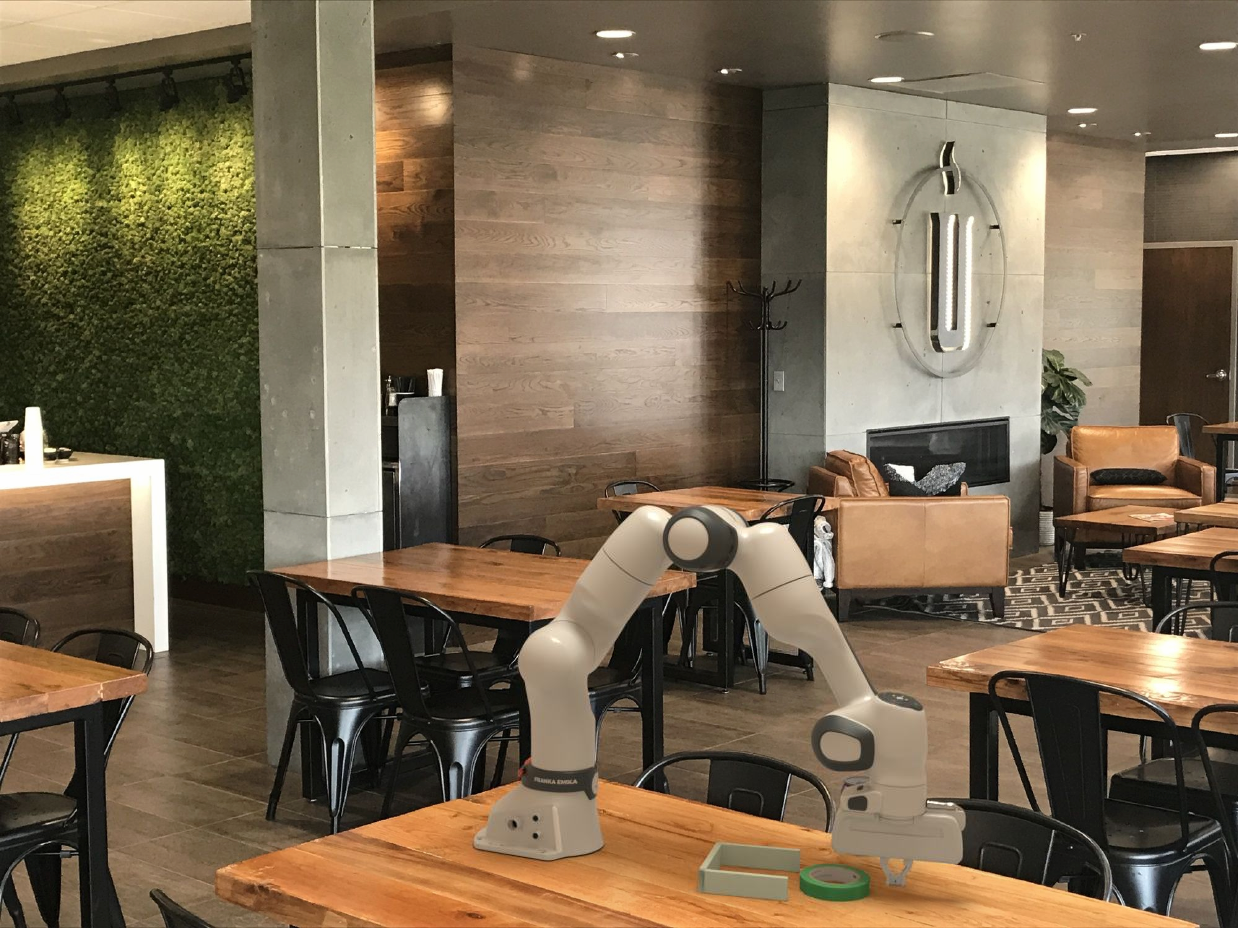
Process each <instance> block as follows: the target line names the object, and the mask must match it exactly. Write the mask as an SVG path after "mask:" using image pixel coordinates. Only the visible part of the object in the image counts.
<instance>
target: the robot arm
mask: <svg viewBox="0 0 1238 928" xmlns="http://www.w3.org/2000/svg"><path fill="white" fill-rule="evenodd" d="M673 564H674V565H676V566H677V567H679V568H681V569H683V570H685V571H688V572H694V573H697V572H698V573H699V572H700V573H701V572H702V573H711V572H712V573H713V572H716V571H720V570H725V569H728V570H730V571H733V573H735V574H736V575H737V577H738V578H739V579H740V581H741V583H742V584H743V587H744V590H745V591H746V593H747V597H748V598H749V601H750V604H751V606H752V610H753V611H754V613H755V616H756V617H757V620H758V622H759V623H760V624H761V626H762V628H763V629H764V630H765V632H766V633H767V635H768V636H770V637H771V638H773V639H774V640H776V641H777V642H780V643H783V644H786V645H791V646H793V647H796V648H798V649H800V650H802V651H804V652H805V653H806V654H808V655H809V656H810V657H811V658H813V660H814V661H815V662H816V663H817V665H818V666H819V668H820V670H821V672H822V674H823V676H824V678H825V680H826V682H827V683H828V686H829V688H830V690H831V691H832V694H833V695H834V698H835V699H836V701H837V704H838V708H837V709H835V710H833V711H831V712H829V713H827V714H825V715H824V716H822V717H821V718H820V719H818V720H817V721H816V723H815V724H814V726H813V727H812V730H811V735H810V740H811V741H810V743H811V748H812V751H813V754H814V756H815V758H816V759H817V761H818V762H820V764H821V765H822V766H823V767H825V768H826V769H828V770H830V771H833V772H841V773H843V772H844V773H845V772H847V773H849V772H851V773H852V772H862V771H865V772H867V773H868V775H869V776H868V777H869V782H867V783H863V784H858V785H854V786H850V787H847V788H846V789H845V790H844V791H843V792H842V794H841V793H840V799H839V802H840V804H839V805H840V807H838V810H837V812H836V815H835V818H834V822H833V825H832V831H831V839H830V841H831V842H830V843H831V844H830V847H831V850H833V851H834V853H836V854H840V855H851V856H862V857H874V858H879V862H878V863H879V866H880V868H881V869H882V871H883V873H884V874H885V885H886V886H888V887H890V886H891V887H900V888H906V878H907V876H908V874H909V872H910V871H911V869H913V865H914V861H917V862H927V863H938V864H948V865H957V864H959V863H961V861H962V860H963V856H964V855H963V852H964V848H963V847H964V846H963V836H962V835H963V833H962V832H963V831H964V829H965V827H966V819H967V817H966V812H965V810H964V808H962V807H961V806H959V805H957V803H955V802H949V801H948V802H942V801H937V800H927V789H928V788H927V787H928V786H927V783H928V779H927V778H928V777H927V774H926V768H925V765H926V759H927V756H928V751H929V749H928V742H929V741H928V740H929V739H928V722H927V717H926V716H927V715H926V712H925V708H924V707H923V705H922V703H921V702H920V701H918V699H916V698H915V697H912V696H910V695H907V694H905V693H900V692H891V691H883V692H879V693H878V691H877V690H876V689H875V687H874V686H873V684H872V682H871V681H870V678H869V676H868V675H867V672H866V671H865V670H864V669H865V668H864V667H863V665H862V664H861V661H860V660H859V658H858V656H857V654H856V653H855V650H854V648H853V646H852V645H851V643H850V641H849V639H848V638H847V636H846V633H845V632H844V631H843V628H842V627H841V625H840V624H839V623H838V620H837V619H836V618H835V616H834V614H833V613H832V612H831V610H830V608H829V605H828V604H827V602H826V600H825V598H824V595H823V594H822V592H821V590H820V588H819V585H818V584H817V581H816V579H815V576H814V574H813V573H812V570H811V568H810V566H809V563H808V561H807V559H806V557H805V555H804V554H803V552H802V551H801V549H800V547H799V546H798V544H797V543H796V540H795V539H794V538H793V536H792V535H791V533H790V532H789V530H788V529H787V528H786V527H784V525H782V524H781V523H780V524H779V523H778V522H760V523H756V524H754V525H752V526H750V524H749V523H748V521H747V520H746V518H745V517H744V515H742V514H741V513H740V512H738V511H737V510H735V509H733V508H732V507H728V506H720V505H717V504H702V505H692V506H687V507H684V508H682V509H680V510H678V511H677V512H675V513H674V514H673V515H672V514H671V513H669V512H668V511H667V510H665V509H664V508H661V507H659V506H654V505H642V506H640V507H638V508H637V509H635V510H634V511H633V512H632V513H631V514H629V515H628V517H626V518H625V520H624V521H622V522H621V523H620V524H619V526H618V527H617V528H616V529H615V530H614V531H613V532H612V533H611V534H610V535H609V537H608V538H607V539H606V541H605V542H604V544H603V545H602V546H601V548H600V549H599V550H598V552H597V553H596V554H595V556H594V557H593V559H592V560H591V561H590V563H589V564H588V565H587V566H586V568H585V569H584V571H583V572H582V573H581V575H580V576H579V577H578V579H577V580H576V582H575V585H574V587H573V589H572V591H571V593H570V594H569V595H568V597H567V600H566V601H565V603H564V604H563V606H562V608H561V609H560V611H559V613H558V614H557V615H556V617H554V618H553V620H551V621H550V622H549V623H548V624H547V625H545V626H543V627H540V628H539V629H537V630H535V631H534V632H532V633H531V634H530V635H529V636H528V638H527V639H526V640H525V642H524V644H523V645H522V647H521V649H520V651H519V653H518V659H517V666H518V671H519V674H520V676H521V678H522V679H523V681H524V684H525V691H526V696H527V701H528V706H529V707H528V708H529V713H530V727H531V728H530V729H531V730H530V731H531V735H530V738H531V743H530V744H531V745H530V746H531V748H530V750H531V753H530V757H529V758H528V759H526V760H525V761H524V764H523V765H522V766H521V767H520V769H519V770H518V771H517V772H518V774H517V775H518V776H517V777H518V778H520V781H521V782H520V783H519V784H518V785H516V786H515V787H514V788H512V789H511V790H509V791H508V792H507V793H506V794H504V795H503V796H502V797H501V798H500V799H498V800H497V801H496V802H494V803H493V805H492V807H491V809H490V811H489V814H488V818H487V823H486V826H485V827H483V828H481V829H480V830H479V831H478V832H477V833H476V834H475V835H474V837H473V847H474V848H475V849H478V850H483V851H489V852H495V853H500V854H506V855H514V856H518V857H519V856H520V857H526V858H531V859H535V860H543V861H553V860H557V859H558V860H559V859H562V858H565V857H567V858H568V857H574V856H575V857H576V856H580V855H581V856H582V855H586V854H590V853H594V852H596V851H598V850H599V849H601V848H602V847H603V846H604V845H605V840H604V837H603V835H602V834H603V833H602V830H601V826H600V819H599V813H598V803H597V796H598V792H599V772H598V771H599V769H598V762H596V717H595V713H593V710H592V707H591V702H590V701H591V700H590V697H589V689H588V688H589V687H588V677H589V675H590V674H591V673H592V672H594V671H595V670H596V669H597V668H598V667H599V666H600V664H601V662H602V661H604V659H605V657H606V656H607V654H608V653H609V651H610V650H611V648H612V647H613V645H614V644H615V642H616V641H617V639H618V638H619V636H620V634H621V632H622V631H623V629H624V628H625V626H626V624H627V623H628V621H629V620H630V619H631V617H632V616H633V614H634V613H635V612H636V610H637V609H638V608H639V606H641V604H642V603H643V601H644V600H645V599H646V598H647V596H648V594H649V593H650V592H651V590H652V589H653V588H654V587H655V585H656V584H657V582H658V581H659V580H660V578H661V577H662V576H663V574H664V573H665V572H666V570H667V569H668V568H669V567H671V565H673ZM890 859H896V860H903V861H902V862H903V863H902V865H903V867H904V868H903V869H902V871H901V872H898V871H892V870H891V868H890V866H889V862H890Z"/></svg>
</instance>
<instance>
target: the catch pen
mask: <svg viewBox="0 0 1238 928" xmlns="http://www.w3.org/2000/svg"><path fill="white" fill-rule="evenodd" d="M801 852H802V850H801V848H790V847H780V846H768V845H767V846H765V845H756V844H744V843H736V842H734V843H733V842H723V841H716V842H715V844H714V846H713V847H712V849H711V850H710V852H708V855H707V856H706V858H705V859H704V861H703V862H702V864H701V865H700V867H699V869H698V871H697V873H698V875H697V877H698V878H697V879H698V880H697V883H698V884H697V892H698V893H702V894H710V895H723V896H731V897H732V896H733V897H742V898H753V899H760V900H761V899H762V900H764V899H765V900H771V901H780V902H781V901H782V902H787V901H788V899H789V897H788V896H789V877H788V876H782V875H773V874H764V873H751V872H742V871H732V870H720V868H721V866H729V867H741V868H750V869H751V868H752V869H761V870H762V869H763V870H771V871H772V870H774V871H781V872H783V871H784V872H791V873H792V872H794V873H800V872H801V857H802V855H801Z"/></svg>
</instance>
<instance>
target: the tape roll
mask: <svg viewBox="0 0 1238 928" xmlns="http://www.w3.org/2000/svg"><path fill="white" fill-rule="evenodd" d="M831 882H837V883H831ZM799 891H801V893H802V892H803V893H802V894H803V895H806V896H808V897H810V898H812V897H813V899H816V900H820V901H827V902H835V903H836V902H838V903H840V902H841V903H842V902H844V903H845V902H853V901H854V902H855V901H860V900H862V899H864V898H866V897H868V896H869V895H870V893H871V877H870V874H869V873H868V872H866V871H865V870H863V869H861V868H859V867H856V866H852V865H846V864H843V863H842V864H841V863H817V864H812V865H809V866H805V867H804V868H802V869H800V872H799Z"/></svg>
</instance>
